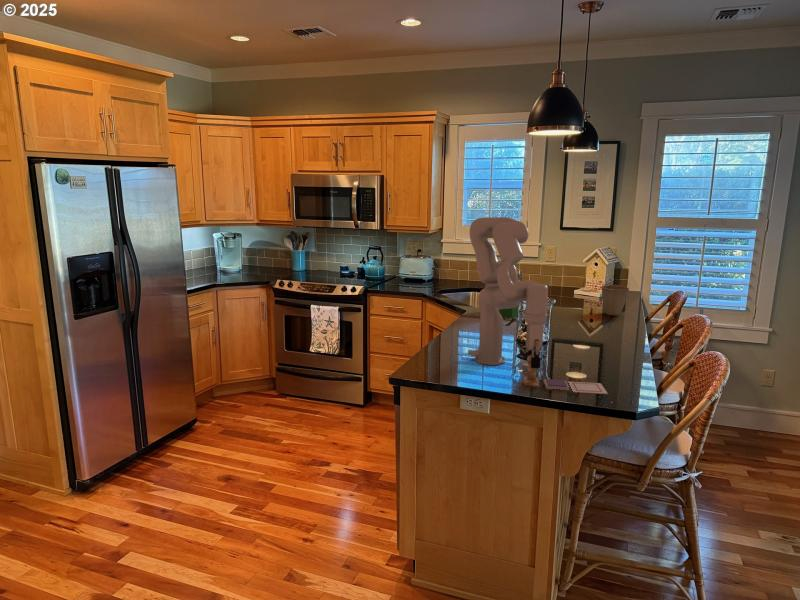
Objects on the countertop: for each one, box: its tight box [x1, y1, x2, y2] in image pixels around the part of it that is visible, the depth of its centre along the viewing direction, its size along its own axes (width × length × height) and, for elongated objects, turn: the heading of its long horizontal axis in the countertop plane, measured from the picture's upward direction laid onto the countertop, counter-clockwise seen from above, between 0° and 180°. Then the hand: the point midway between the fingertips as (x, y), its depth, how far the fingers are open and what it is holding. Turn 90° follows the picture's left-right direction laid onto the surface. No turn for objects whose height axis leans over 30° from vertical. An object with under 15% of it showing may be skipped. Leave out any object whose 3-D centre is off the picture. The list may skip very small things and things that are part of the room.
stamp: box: [523, 354, 540, 388], centre depth 193 cm, size 5×4×12 cm
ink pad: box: [543, 378, 570, 391], centre depth 193 cm, size 8×7×2 cm
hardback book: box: [484, 273, 521, 319], centre depth 300 cm, size 18×7×24 cm, turn 52°
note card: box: [567, 381, 608, 395], centre depth 192 cm, size 12×10×1 cm
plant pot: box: [601, 284, 630, 316], centre depth 306 cm, size 15×15×16 cm
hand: (533, 363), depth 192 cm, fingers open, 9 cm apart
